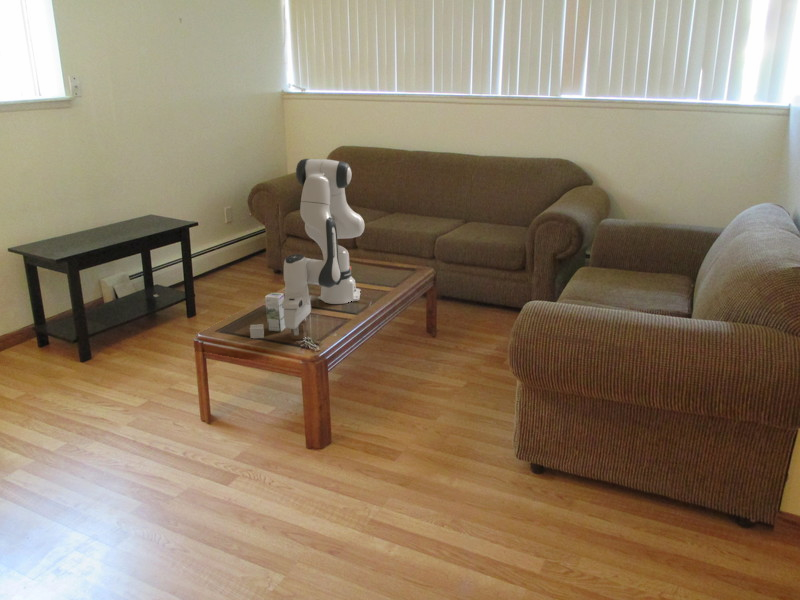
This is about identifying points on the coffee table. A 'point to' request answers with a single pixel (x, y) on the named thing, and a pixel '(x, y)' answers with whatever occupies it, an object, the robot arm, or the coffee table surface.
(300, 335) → the walnut block
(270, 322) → the syrup box
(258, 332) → the grey block
